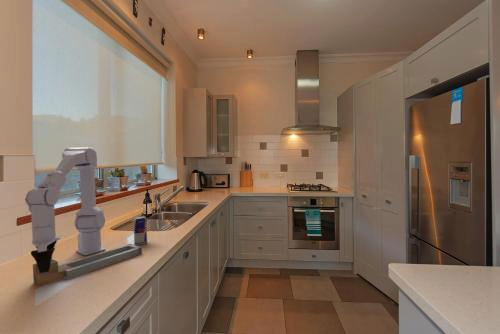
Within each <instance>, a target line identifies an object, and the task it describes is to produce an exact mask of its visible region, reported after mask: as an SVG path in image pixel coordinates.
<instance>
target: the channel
mask: <svg viewBox="0 0 500 334" xmlns="http://www.w3.org/2000/svg"><path fill="white" fill-rule="evenodd" d="M142 254H143V247H142V246H140V245H135V244H133V243H127V244H124V245H122V246H117V247H115V248H111V249H108V250H103V251H100V252H96V253H93V254H90V255H86V256H84V257H80V258H78V259H75V260H71V261H68V262H65V263H61V264H58V267H61V266H64V265H67V266H70V267H72V268H71V269H68V270H65V273H66V278H65V279H67V280H69V279H73V278H75V277H78V276H81V275H84V274H87V273H89V272H92V271H95V270H98V269H101V268H103V267H107V266H110V265H113V264H116V263H118V262H122V261H124V260H127V259H130V258H133V257H136V256H139V255H142Z"/></svg>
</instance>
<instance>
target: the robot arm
mask: <svg viewBox="0 0 500 334" xmlns="http://www.w3.org/2000/svg"><path fill="white" fill-rule="evenodd" d="M97 154H98V153H97V152H96V150H95V149H94V148H93V147H90V146H89V147H66V148H64V149H63V151H62V153H61V156H62V159H61V160H60V162H59V164H58V165H57V167H56V169H55V170H54V171H53V170H52V171H48V173H47V174H46V175H45V177H44V178H43V179H42V180H41V182H40V183H39V184H38V185H37V187H33V188H31V189H30V190H28V191H27V193H26V196H25V198H24V200H25V201H24V202H25V204H26V205H27V207H28V211H29V212H30V214H31V215H30V216H31V232H32V233H31V235H32V237H31V238H32V241H31V245H33V246H34V247H35V248H36V249H35V250H31V251H30V256H31V257H32V258H33V259H34V261H35V262H36V263H37V266H38V269H39V272H40V273H44V272H48V271H49V269H50V262H51V259H53V255H54V253H55V250H56V248H55V246H56V245H57V242H58V241H59V240H61V235H60V236H56V216H55V215H56V213H55V205H56V204H57V203H58V201H59V197H60V194H61V189H62V188H63V186H64V185H65V183H66V182H67V181H68V179H67V175H68V174H69V173H70V172H71V171H72V170H73V169H74V168H76V169H77V170H79V174H80V176H79V177H80V201H81V202H80V203H81V208H80V209H79V210H77V212H76V213H75V217H74V218H75V219H74V228H75V229H76V230H77V231H78V234H77V249H76V250H75V252H77V253H79V254H81V255H83V256H90V255H93V254H97V253H100V252H104V251H106V248H105V247H103V246H102V237H101V236H102V235H101V234H102V233H101V232H102V231H101V230H102V229H103V228H104V226H105V224H106V217H105V215H104V210H103V209H101V208H99V207H97V200H96V180H95V179H96V178H95V177H96V175H95V173H96V172H95V169H96V168H97V167H98V156H97ZM36 263H35V264H36Z"/></svg>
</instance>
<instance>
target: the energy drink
mask: <svg viewBox="0 0 500 334" xmlns="http://www.w3.org/2000/svg"><path fill="white" fill-rule="evenodd" d="M147 229H148V228H147V218H146V216H145V215H140V216H135V217H134V218H133V242H134V243H133V245H136V246H143V245H145V244H147V243H148V232H147Z"/></svg>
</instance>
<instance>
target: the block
mask: <svg viewBox="0 0 500 334" xmlns="http://www.w3.org/2000/svg"><path fill="white" fill-rule="evenodd" d="M58 265H59V262H58V261H57V260H55V259H53V258H52V259H51V262H50V269H49V271H48V272H44V273H40V272H39V269H38V266H37V263H34V264H32V275H33V276H32V277H33V278H32V279H33V284H34V285H36V286H37V287H39V288H40V287H44V286H46V285H49V284H51V283H52V284H53V283H54V282H57V281H60V280H63V279H67V278H66V273H65V270H68V269H71V268H72V267H70V266H67V265H64V266H61V267H58Z"/></svg>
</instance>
